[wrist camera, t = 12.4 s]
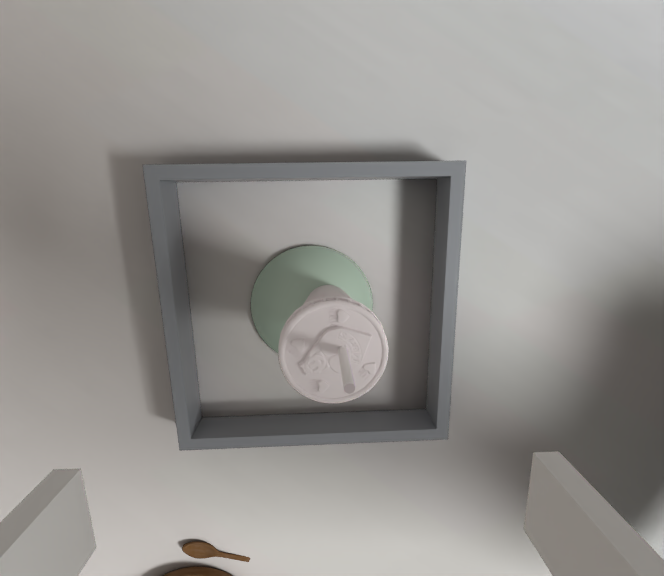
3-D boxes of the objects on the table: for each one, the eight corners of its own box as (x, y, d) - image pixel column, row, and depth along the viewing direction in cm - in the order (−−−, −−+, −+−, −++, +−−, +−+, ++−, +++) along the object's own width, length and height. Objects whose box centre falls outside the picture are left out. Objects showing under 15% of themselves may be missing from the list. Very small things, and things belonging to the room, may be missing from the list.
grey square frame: (450, 164, 28) (466, 160, 25) (436, 418, 33) (447, 439, 30) (161, 168, 27) (142, 164, 24) (191, 427, 32) (179, 450, 29)
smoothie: (379, 321, 30) (431, 418, 17) (311, 355, 31) (309, 476, 17) (345, 254, 29) (371, 300, 15) (274, 290, 29) (239, 367, 16)
